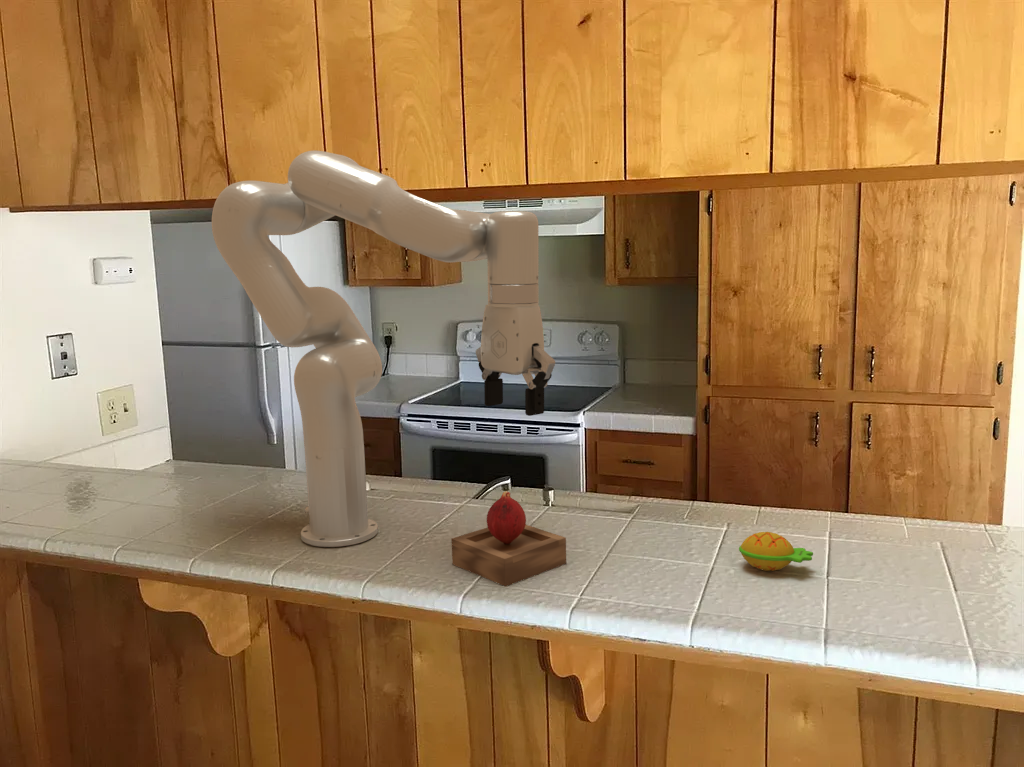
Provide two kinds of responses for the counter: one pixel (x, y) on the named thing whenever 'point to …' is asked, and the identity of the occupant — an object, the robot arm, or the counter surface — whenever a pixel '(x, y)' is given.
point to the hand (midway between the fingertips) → (513, 409)
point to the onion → (506, 519)
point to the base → (509, 554)
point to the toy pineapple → (771, 551)
